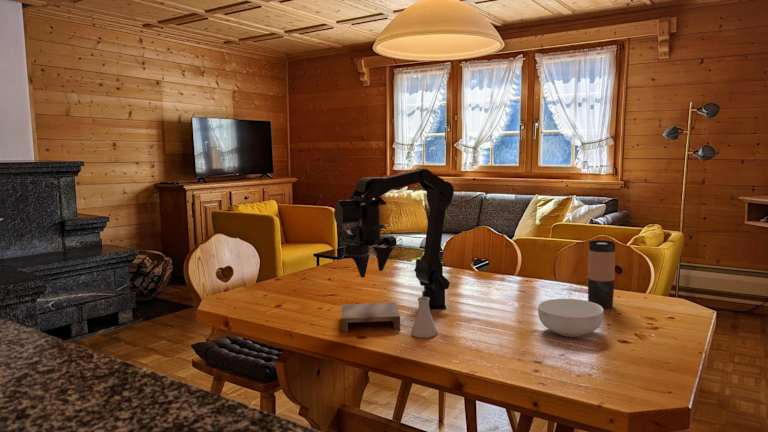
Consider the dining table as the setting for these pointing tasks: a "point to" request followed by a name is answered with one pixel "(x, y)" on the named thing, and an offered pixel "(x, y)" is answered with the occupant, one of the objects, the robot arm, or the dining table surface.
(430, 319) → the flask
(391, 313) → the walnut shelf
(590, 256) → the travel mug
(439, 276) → the robot arm
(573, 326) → the cereal bowl
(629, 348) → the dining table surface
